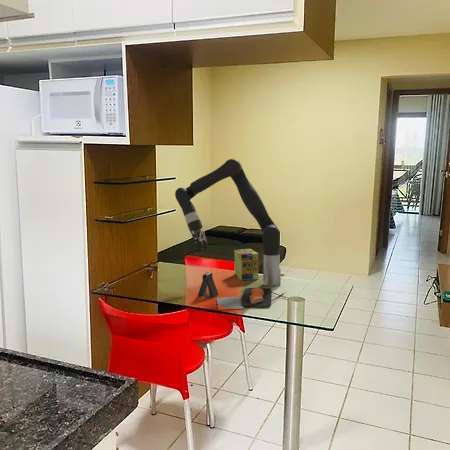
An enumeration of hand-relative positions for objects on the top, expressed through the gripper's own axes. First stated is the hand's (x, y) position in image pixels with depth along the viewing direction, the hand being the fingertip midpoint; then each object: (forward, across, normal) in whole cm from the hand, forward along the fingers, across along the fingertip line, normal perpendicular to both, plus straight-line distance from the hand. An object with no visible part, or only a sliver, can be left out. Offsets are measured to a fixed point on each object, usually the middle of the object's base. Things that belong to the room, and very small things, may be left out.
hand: (204, 249), depth 249 cm
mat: (+33, -17, -8) cm, 38 cm away
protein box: (+21, +32, -7) cm, 39 cm away
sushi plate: (+39, -4, -25) cm, 47 cm away
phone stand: (+24, -7, +5) cm, 26 cm away
